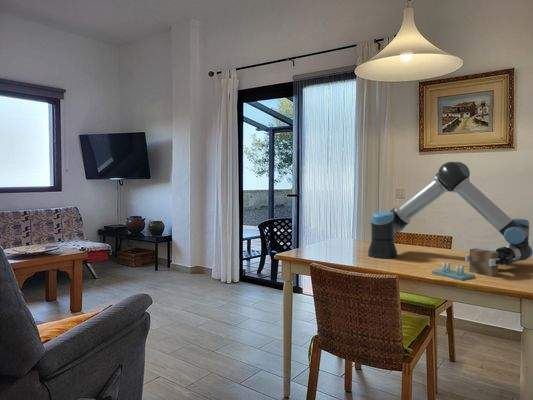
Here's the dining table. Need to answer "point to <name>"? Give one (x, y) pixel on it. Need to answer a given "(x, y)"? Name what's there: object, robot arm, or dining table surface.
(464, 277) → the peg stand
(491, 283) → the dining table surface
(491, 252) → the brown boxy piece
